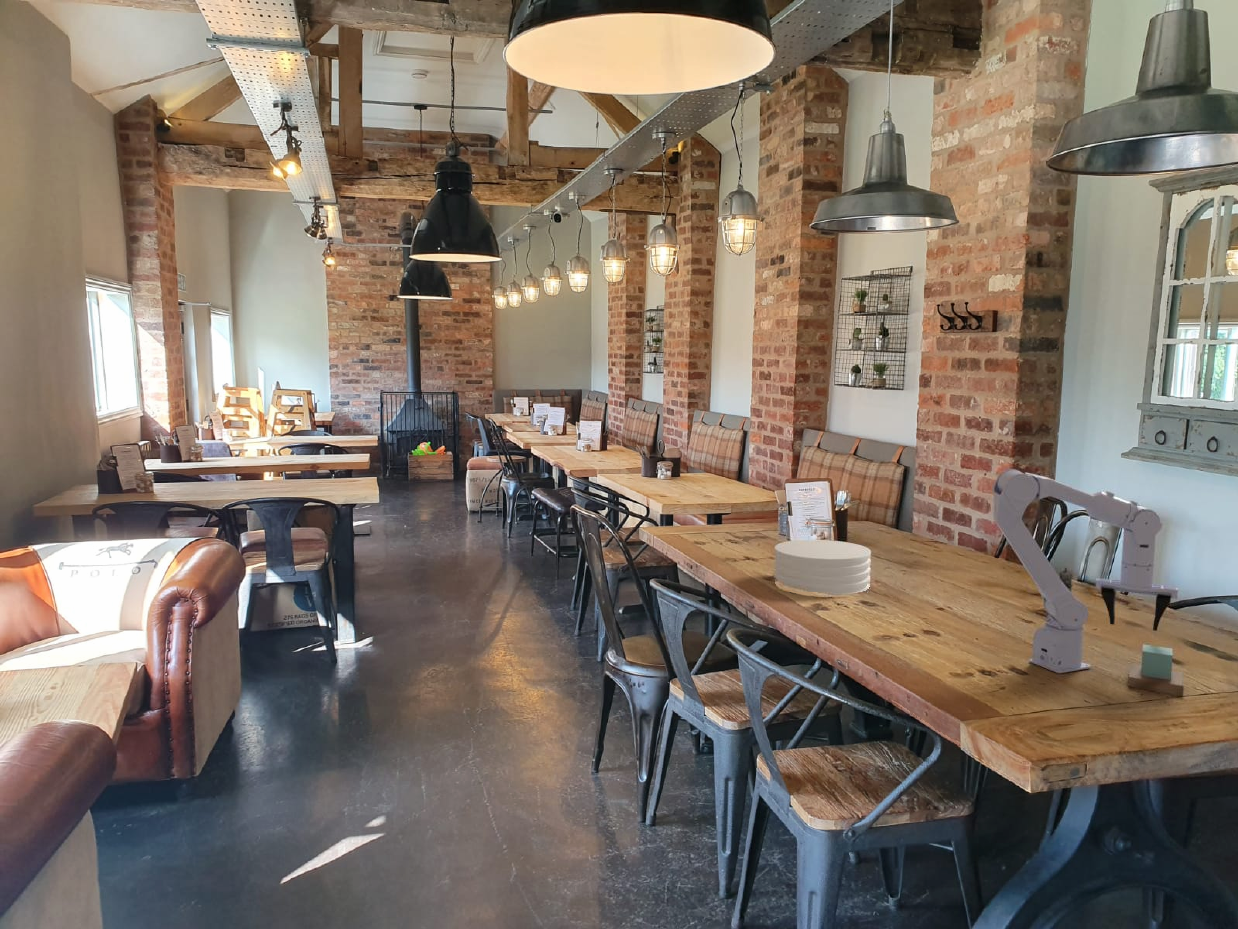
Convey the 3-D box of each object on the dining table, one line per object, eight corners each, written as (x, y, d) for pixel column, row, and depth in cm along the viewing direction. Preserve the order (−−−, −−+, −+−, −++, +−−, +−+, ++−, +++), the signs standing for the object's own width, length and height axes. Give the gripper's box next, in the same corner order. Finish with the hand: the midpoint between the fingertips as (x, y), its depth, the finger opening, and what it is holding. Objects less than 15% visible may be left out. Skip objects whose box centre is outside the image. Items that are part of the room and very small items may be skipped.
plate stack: (834, 604, 224) (835, 563, 223) (755, 585, 245) (755, 548, 244) (888, 587, 243) (889, 549, 241) (810, 570, 264) (811, 536, 262)
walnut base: (1128, 686, 163) (1129, 676, 163) (1129, 673, 170) (1130, 663, 170) (1182, 695, 158) (1183, 686, 158) (1181, 681, 165) (1182, 672, 165)
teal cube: (1141, 675, 163) (1142, 651, 163) (1141, 667, 168) (1143, 644, 167) (1170, 680, 161) (1172, 655, 160) (1170, 672, 165) (1172, 648, 164)
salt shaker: (1053, 607, 219) (1056, 563, 218) (1078, 611, 216) (1080, 567, 214) (1049, 612, 215) (1051, 567, 214) (1074, 616, 211) (1076, 571, 210)
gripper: (1179, 564, 169) (1175, 627, 171) (1099, 555, 177) (1095, 616, 179) (1179, 570, 163) (1174, 636, 165) (1096, 561, 172) (1092, 624, 173)
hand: (1133, 626), depth 171 cm, fingers open, 7 cm apart
